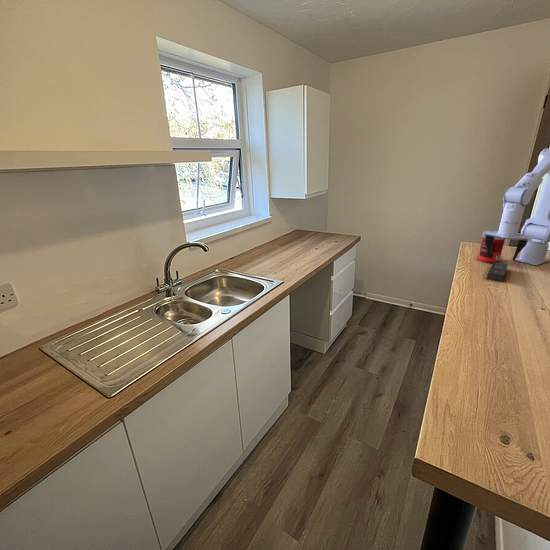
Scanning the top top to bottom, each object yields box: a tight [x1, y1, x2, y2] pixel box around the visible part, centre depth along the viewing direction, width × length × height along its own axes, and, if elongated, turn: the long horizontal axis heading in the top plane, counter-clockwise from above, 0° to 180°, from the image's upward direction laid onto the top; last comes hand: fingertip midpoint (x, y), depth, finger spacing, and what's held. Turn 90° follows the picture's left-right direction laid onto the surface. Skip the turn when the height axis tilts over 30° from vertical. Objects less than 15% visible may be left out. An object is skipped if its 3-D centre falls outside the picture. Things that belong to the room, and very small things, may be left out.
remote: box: [486, 261, 509, 283], centre depth 115 cm, size 14×5×3 cm, turn 139°
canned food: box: [477, 237, 506, 264], centre depth 127 cm, size 8×8×11 cm
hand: (501, 257), depth 112 cm, fingers open, 7 cm apart
